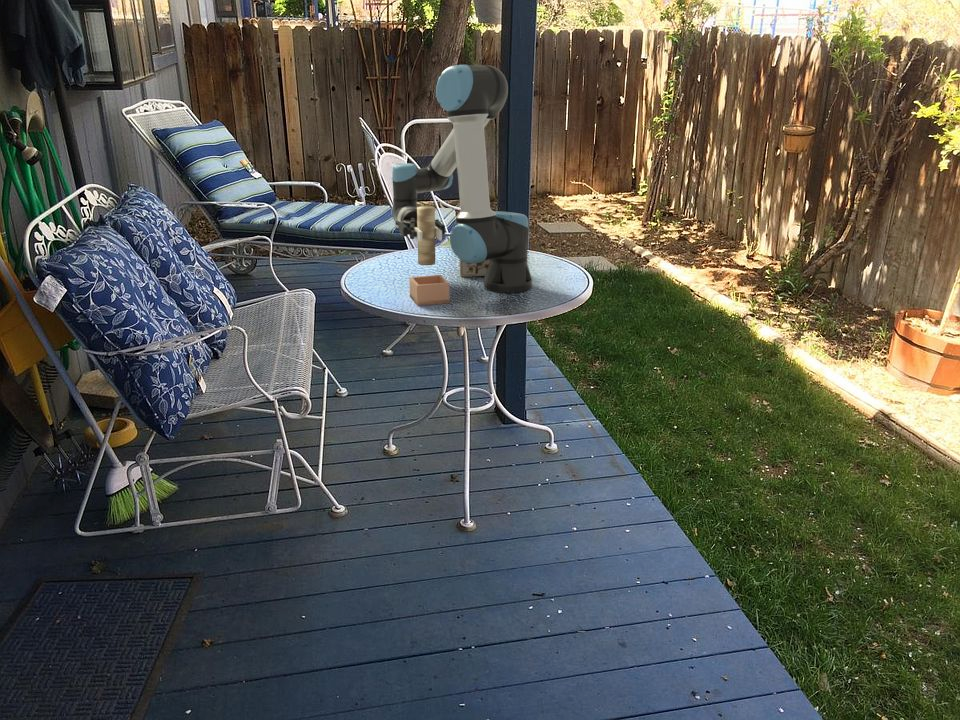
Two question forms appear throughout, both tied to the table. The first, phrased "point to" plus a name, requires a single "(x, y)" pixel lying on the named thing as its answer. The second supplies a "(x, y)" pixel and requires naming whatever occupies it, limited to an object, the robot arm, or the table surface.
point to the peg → (426, 235)
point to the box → (429, 290)
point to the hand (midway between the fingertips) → (430, 236)
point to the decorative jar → (473, 268)
